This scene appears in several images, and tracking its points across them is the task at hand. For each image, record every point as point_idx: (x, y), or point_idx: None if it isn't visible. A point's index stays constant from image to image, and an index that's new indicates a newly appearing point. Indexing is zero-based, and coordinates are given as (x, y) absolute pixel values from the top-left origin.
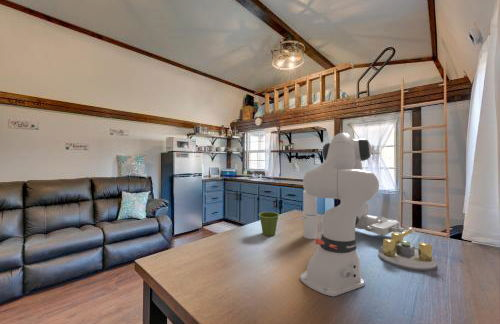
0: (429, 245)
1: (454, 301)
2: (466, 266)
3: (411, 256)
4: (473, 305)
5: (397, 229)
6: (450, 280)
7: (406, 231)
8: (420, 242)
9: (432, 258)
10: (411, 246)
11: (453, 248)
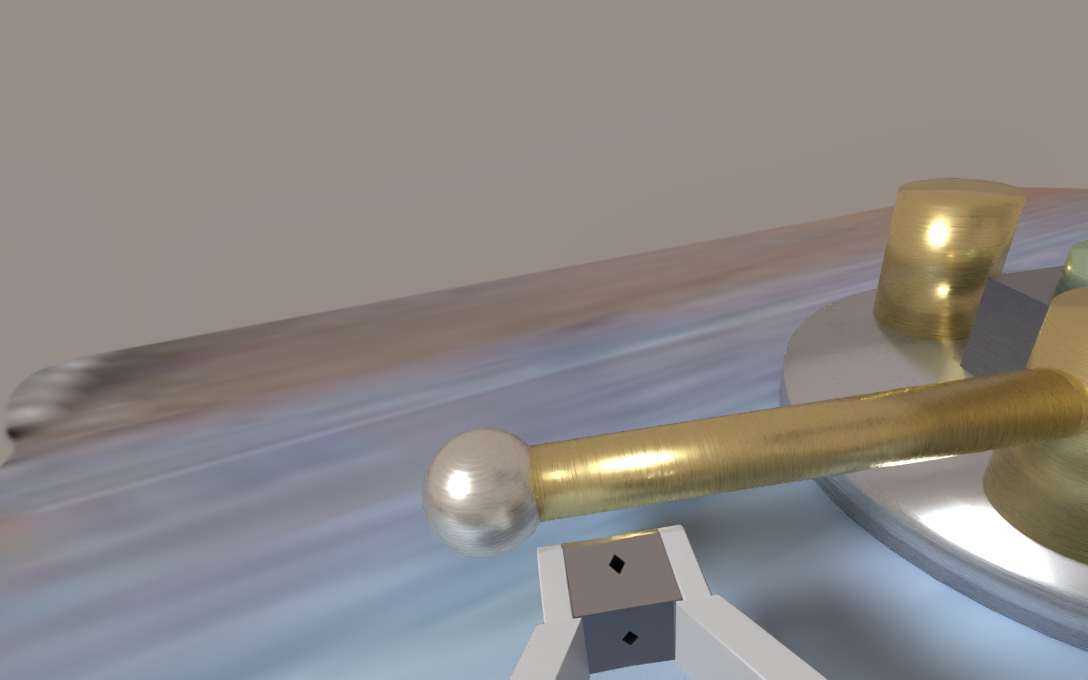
0: (934, 184)
1: (1079, 216)
2: (649, 297)
3: None
4: None
5: (732, 619)
6: None
7: (723, 422)
8: (970, 206)
9: (842, 311)
10: (1057, 272)
11: (331, 410)
